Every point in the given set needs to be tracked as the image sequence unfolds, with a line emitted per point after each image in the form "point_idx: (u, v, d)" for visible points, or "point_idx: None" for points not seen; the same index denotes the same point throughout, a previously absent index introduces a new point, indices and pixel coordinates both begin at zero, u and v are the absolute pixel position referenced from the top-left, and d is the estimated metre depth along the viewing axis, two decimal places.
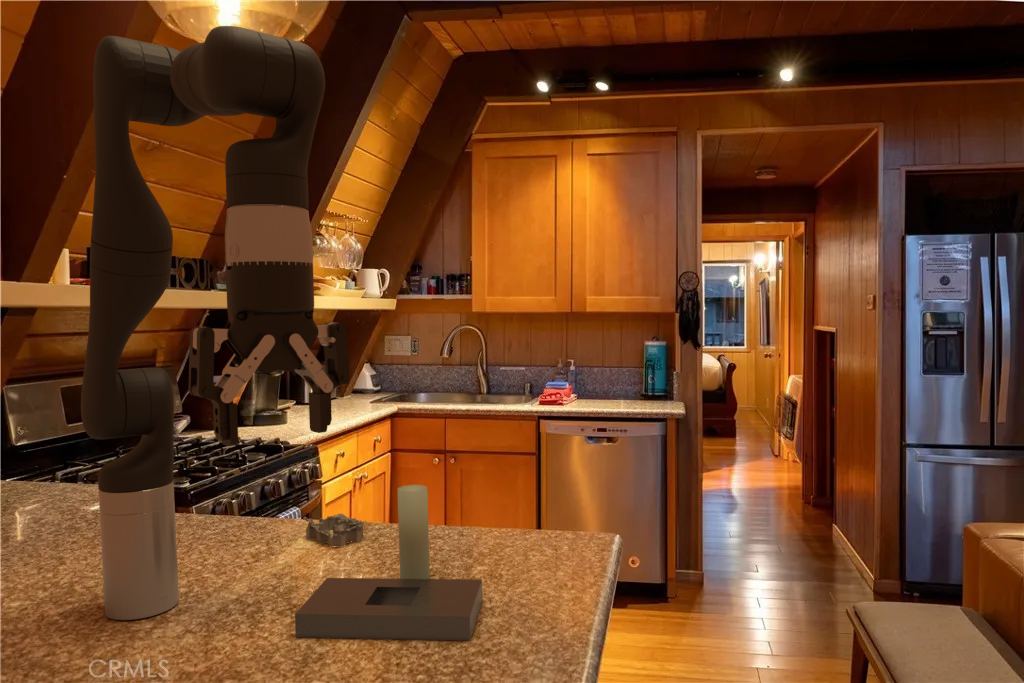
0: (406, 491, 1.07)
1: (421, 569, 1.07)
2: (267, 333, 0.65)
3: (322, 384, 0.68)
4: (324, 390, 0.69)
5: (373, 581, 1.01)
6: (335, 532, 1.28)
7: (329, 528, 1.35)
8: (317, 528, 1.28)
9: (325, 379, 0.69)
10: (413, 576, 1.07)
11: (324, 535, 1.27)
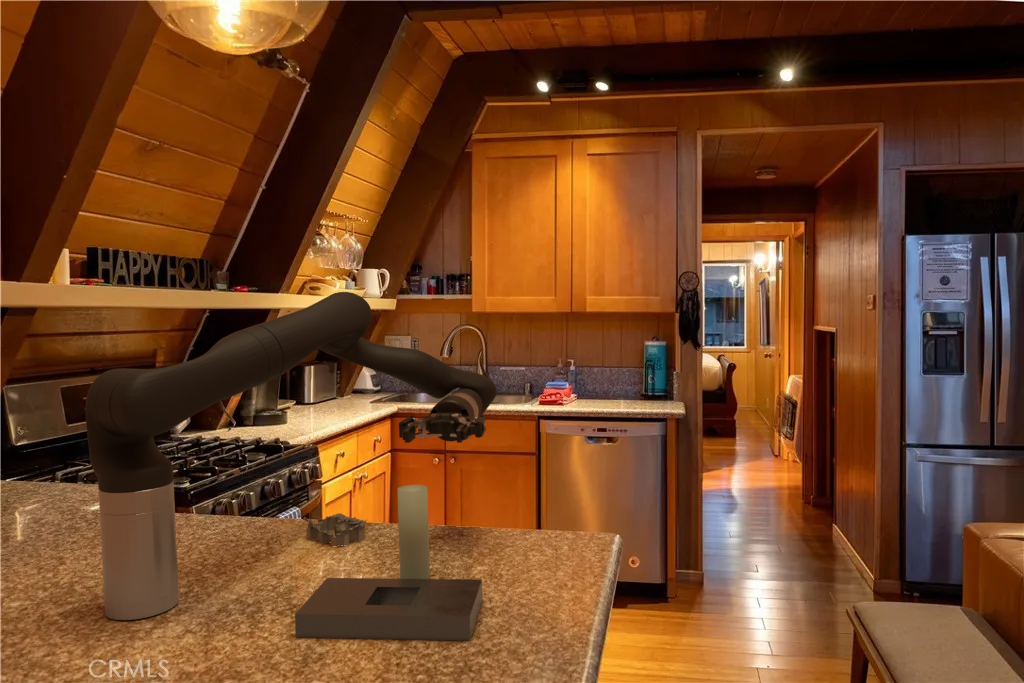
0: (406, 491, 1.07)
1: (421, 569, 1.07)
2: None
3: None
4: None
5: (373, 581, 1.01)
6: (337, 532, 1.28)
7: (328, 528, 1.35)
8: (319, 528, 1.28)
9: None
10: (413, 576, 1.07)
11: (326, 535, 1.28)
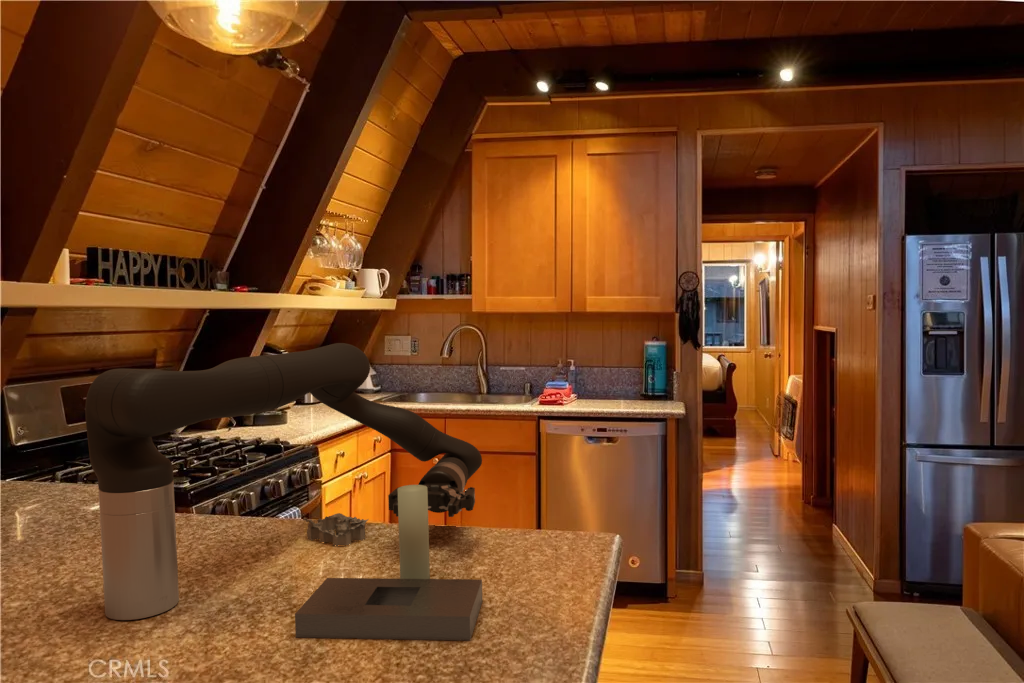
0: (406, 491, 1.07)
1: (421, 569, 1.07)
2: None
3: None
4: None
5: (373, 581, 1.01)
6: (338, 531, 1.28)
7: (327, 528, 1.35)
8: (320, 528, 1.28)
9: None
10: (413, 576, 1.07)
11: (327, 535, 1.28)
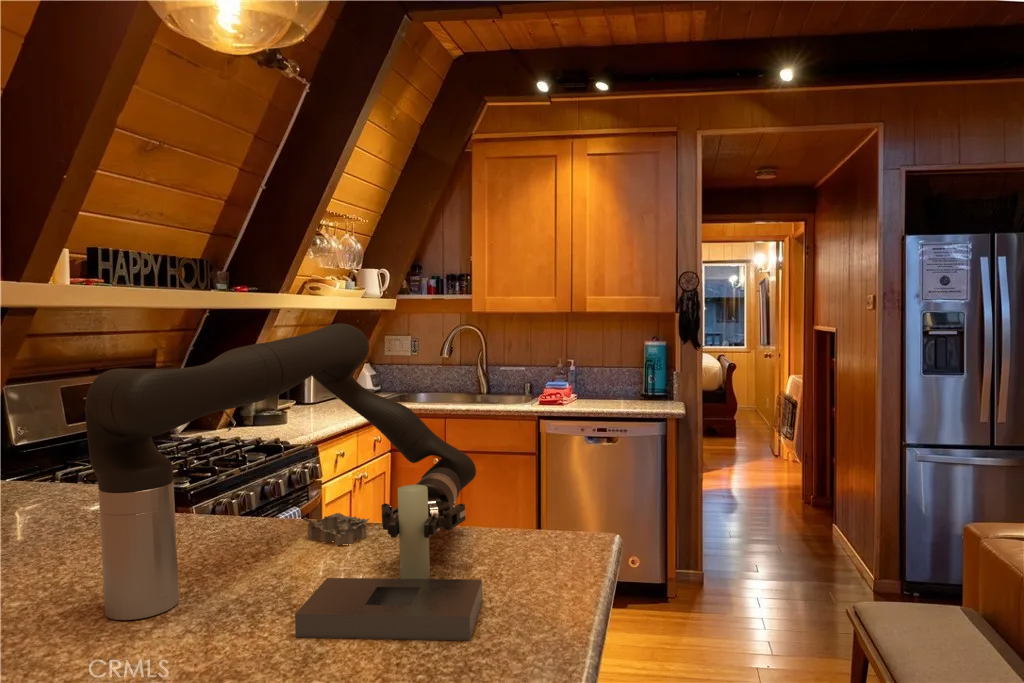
0: (406, 491, 1.07)
1: (422, 569, 1.07)
2: None
3: None
4: None
5: (373, 581, 1.01)
6: (339, 531, 1.28)
7: (326, 528, 1.35)
8: (321, 528, 1.28)
9: None
10: (413, 576, 1.07)
11: (329, 534, 1.28)
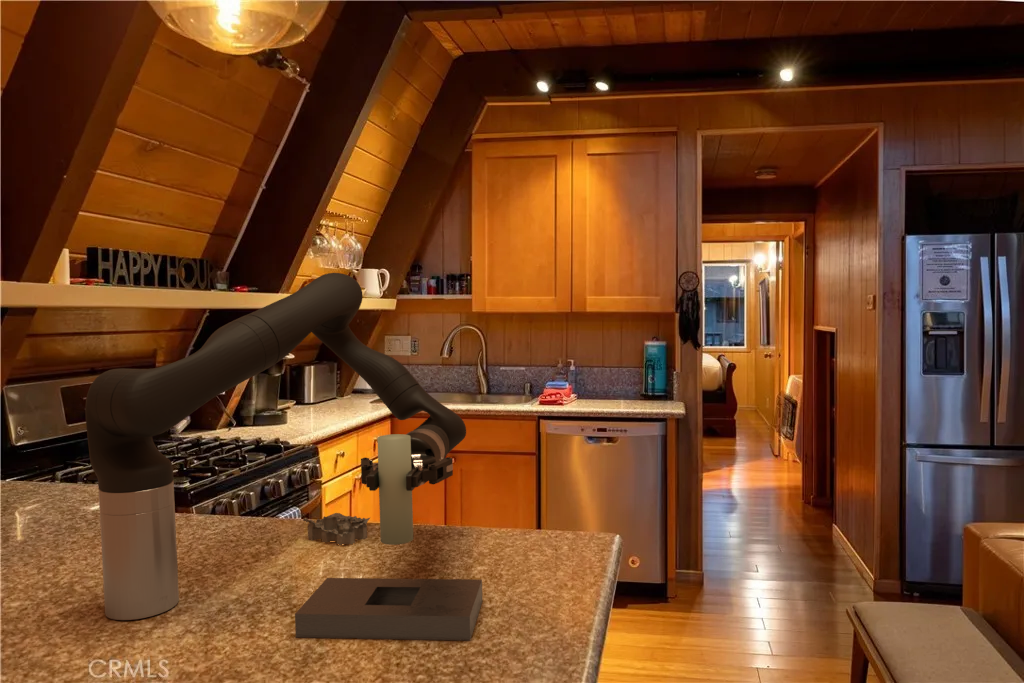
0: (387, 439, 0.96)
1: (403, 526, 0.97)
2: None
3: None
4: None
5: (373, 581, 1.01)
6: (341, 530, 1.29)
7: (325, 528, 1.35)
8: (322, 528, 1.28)
9: None
10: (394, 533, 0.97)
11: (330, 534, 1.28)
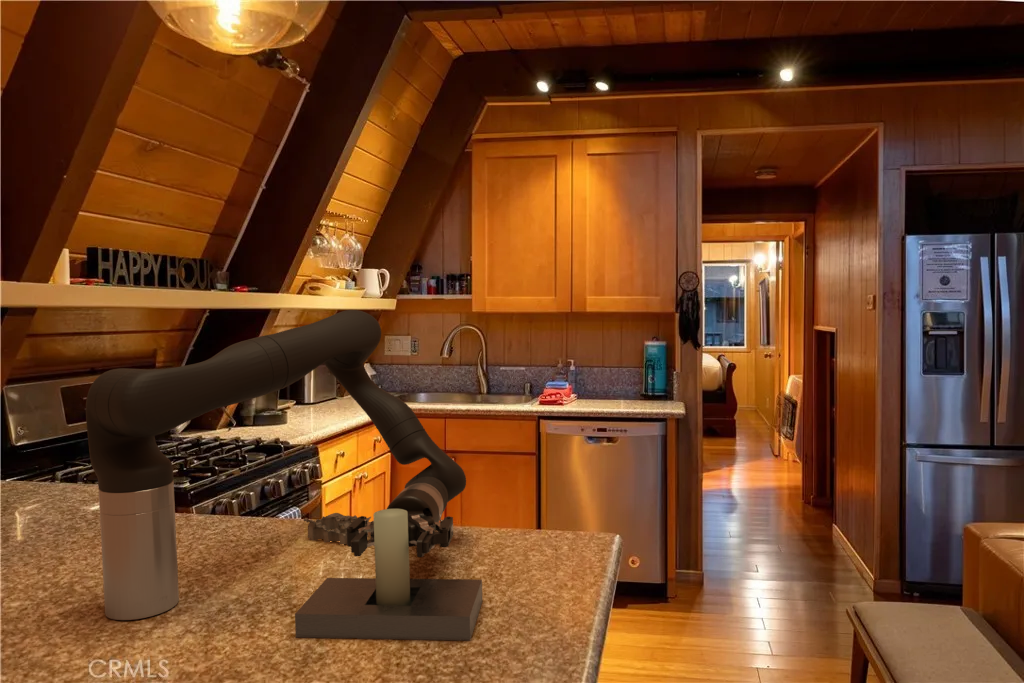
0: (383, 517, 0.94)
1: None
2: None
3: None
4: None
5: (373, 581, 1.01)
6: (342, 530, 1.29)
7: None
8: (324, 527, 1.28)
9: None
10: None
11: (332, 534, 1.28)
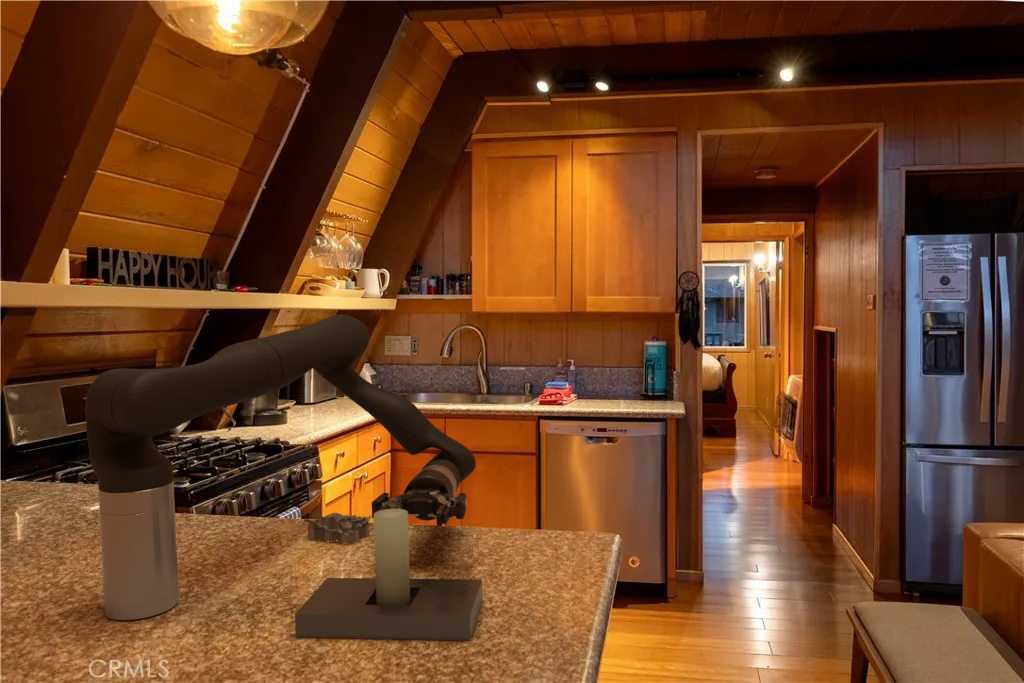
0: (383, 517, 0.94)
1: None
2: None
3: None
4: None
5: (373, 581, 1.01)
6: (343, 529, 1.29)
7: None
8: (326, 527, 1.28)
9: None
10: None
11: (333, 534, 1.28)
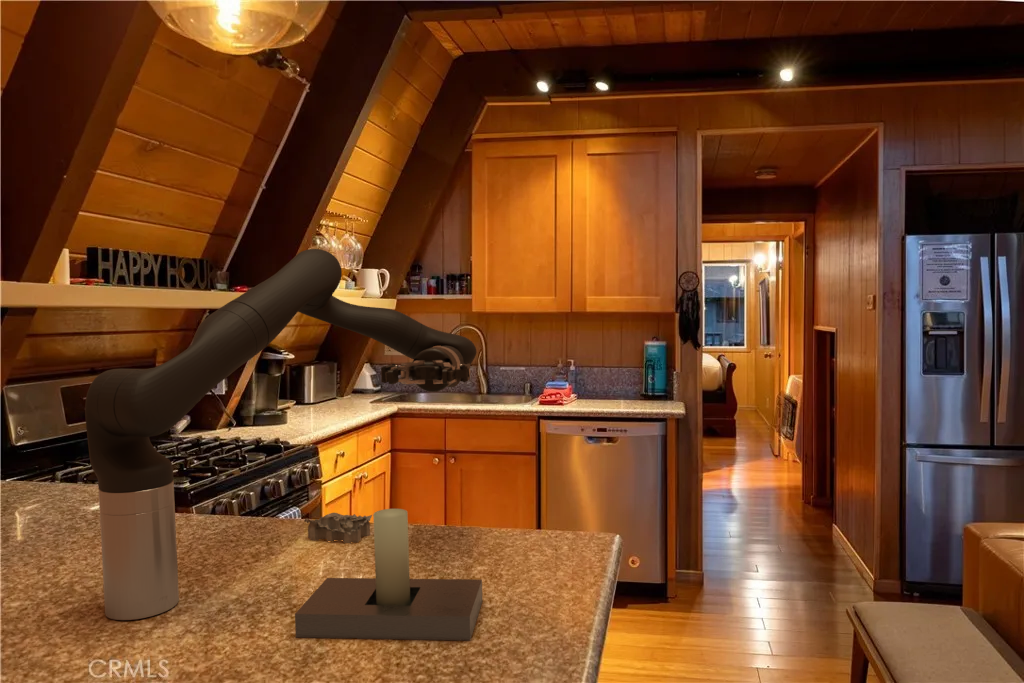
0: (383, 517, 0.94)
1: None
2: None
3: None
4: None
5: (373, 581, 1.01)
6: (345, 529, 1.29)
7: None
8: (327, 527, 1.28)
9: None
10: None
11: (335, 533, 1.28)
